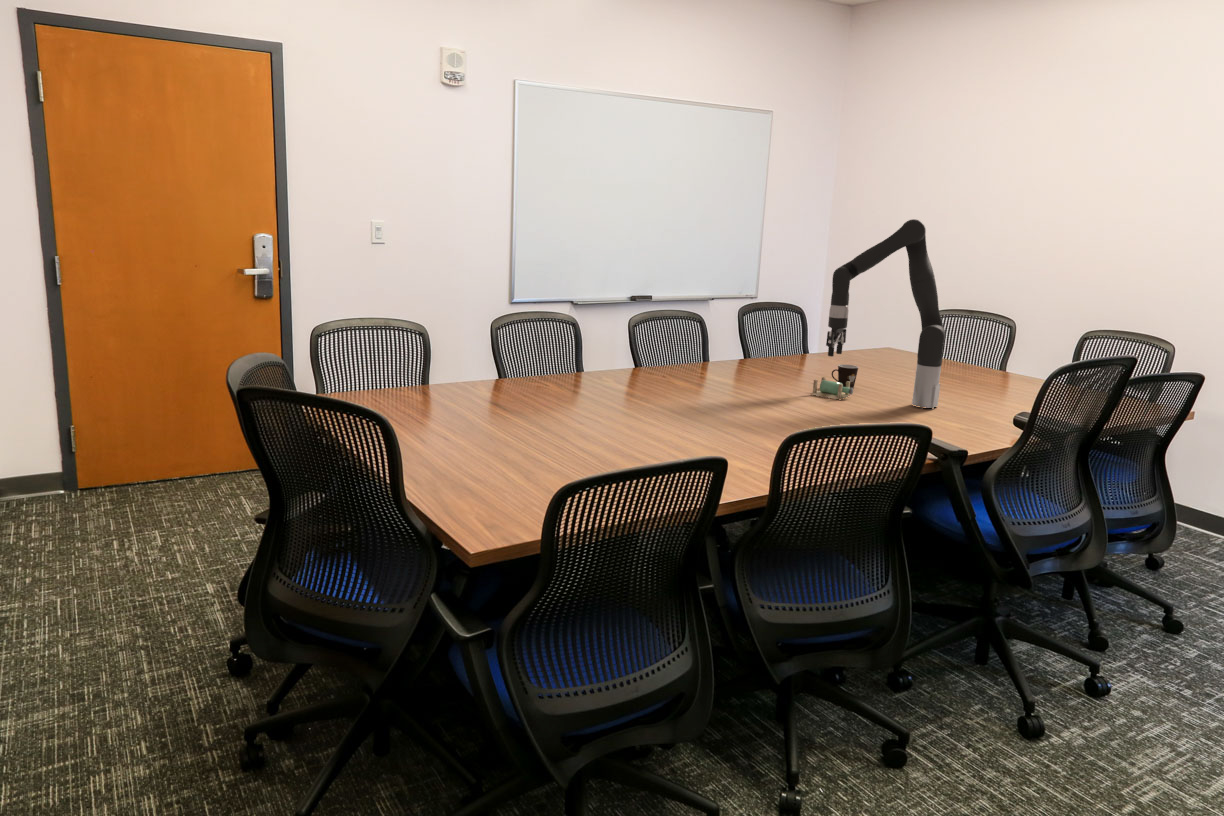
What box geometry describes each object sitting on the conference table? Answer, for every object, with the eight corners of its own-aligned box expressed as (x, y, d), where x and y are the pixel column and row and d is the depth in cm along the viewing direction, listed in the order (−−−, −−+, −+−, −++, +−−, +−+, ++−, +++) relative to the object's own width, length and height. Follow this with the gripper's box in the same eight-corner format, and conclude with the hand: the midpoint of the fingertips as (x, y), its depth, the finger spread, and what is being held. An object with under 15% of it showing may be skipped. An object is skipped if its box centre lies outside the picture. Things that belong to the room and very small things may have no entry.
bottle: (853, 395, 362) (854, 383, 360) (849, 398, 358) (849, 386, 356) (824, 390, 369) (825, 378, 367) (819, 393, 365) (820, 381, 364)
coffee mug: (854, 387, 384) (856, 365, 382) (857, 391, 376) (860, 368, 374) (827, 385, 385) (829, 363, 383) (830, 389, 377) (832, 367, 375)
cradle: (849, 396, 365) (851, 381, 363) (840, 400, 357) (842, 384, 356) (820, 391, 372) (822, 376, 371) (811, 395, 365) (812, 379, 363)
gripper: (840, 318, 349) (836, 358, 353) (853, 315, 360) (850, 354, 364) (822, 316, 354) (819, 356, 357) (836, 313, 365) (833, 352, 368)
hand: (834, 355), depth 361 cm, fingers open, 8 cm apart
